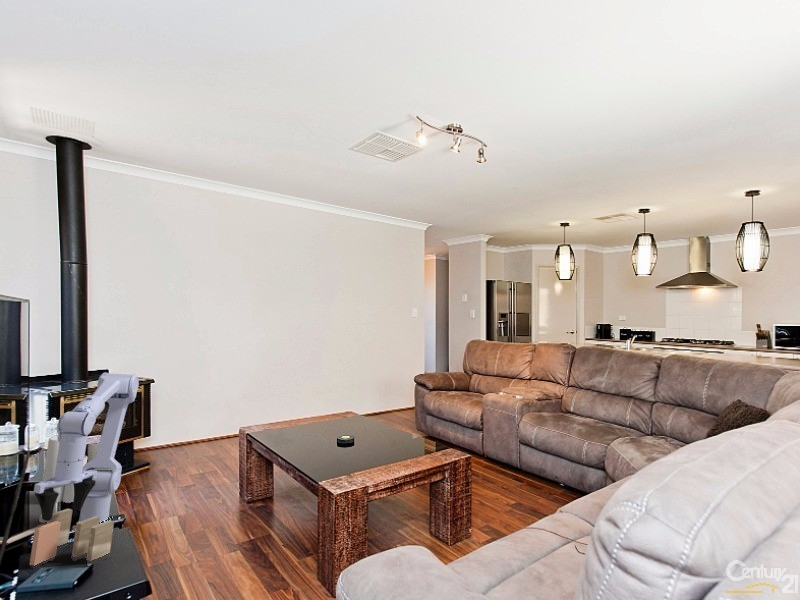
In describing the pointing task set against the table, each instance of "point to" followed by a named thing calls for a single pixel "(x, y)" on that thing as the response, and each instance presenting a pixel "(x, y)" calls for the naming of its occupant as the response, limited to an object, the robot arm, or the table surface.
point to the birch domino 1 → (62, 524)
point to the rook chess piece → (53, 512)
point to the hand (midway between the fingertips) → (62, 514)
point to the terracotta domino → (45, 542)
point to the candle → (49, 471)
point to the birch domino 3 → (100, 540)
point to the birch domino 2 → (83, 536)
